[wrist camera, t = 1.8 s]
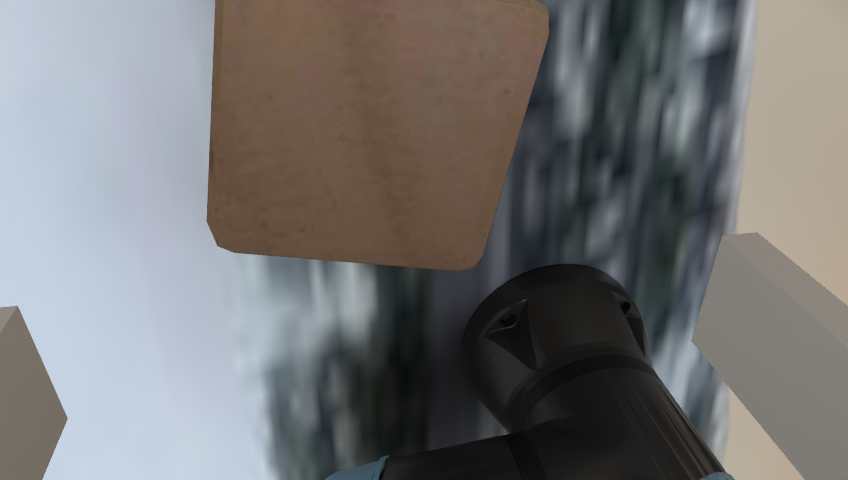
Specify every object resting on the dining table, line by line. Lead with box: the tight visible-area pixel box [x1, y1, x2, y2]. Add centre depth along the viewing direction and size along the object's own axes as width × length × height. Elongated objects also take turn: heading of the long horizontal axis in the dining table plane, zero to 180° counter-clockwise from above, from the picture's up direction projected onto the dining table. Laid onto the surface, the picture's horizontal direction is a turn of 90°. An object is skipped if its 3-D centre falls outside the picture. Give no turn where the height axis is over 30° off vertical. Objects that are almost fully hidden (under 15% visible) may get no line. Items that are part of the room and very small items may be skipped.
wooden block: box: [207, 0, 549, 271], centre depth 28 cm, size 10×10×20 cm
